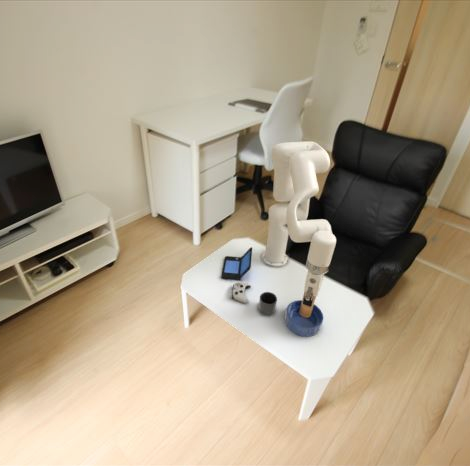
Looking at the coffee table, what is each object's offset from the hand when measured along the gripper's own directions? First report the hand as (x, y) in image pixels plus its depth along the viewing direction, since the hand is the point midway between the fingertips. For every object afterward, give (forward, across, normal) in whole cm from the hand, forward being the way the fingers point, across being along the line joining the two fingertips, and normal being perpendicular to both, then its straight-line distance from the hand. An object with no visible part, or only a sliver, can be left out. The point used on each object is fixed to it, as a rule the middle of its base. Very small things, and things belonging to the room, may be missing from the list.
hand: (308, 299), depth 119 cm
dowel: (+8, 0, 0) cm, 8 cm away
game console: (+14, +17, +36) cm, 42 cm away
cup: (+14, 0, +15) cm, 20 cm away
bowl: (+14, 0, 0) cm, 14 cm away
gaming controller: (+14, +3, +28) cm, 31 cm away
